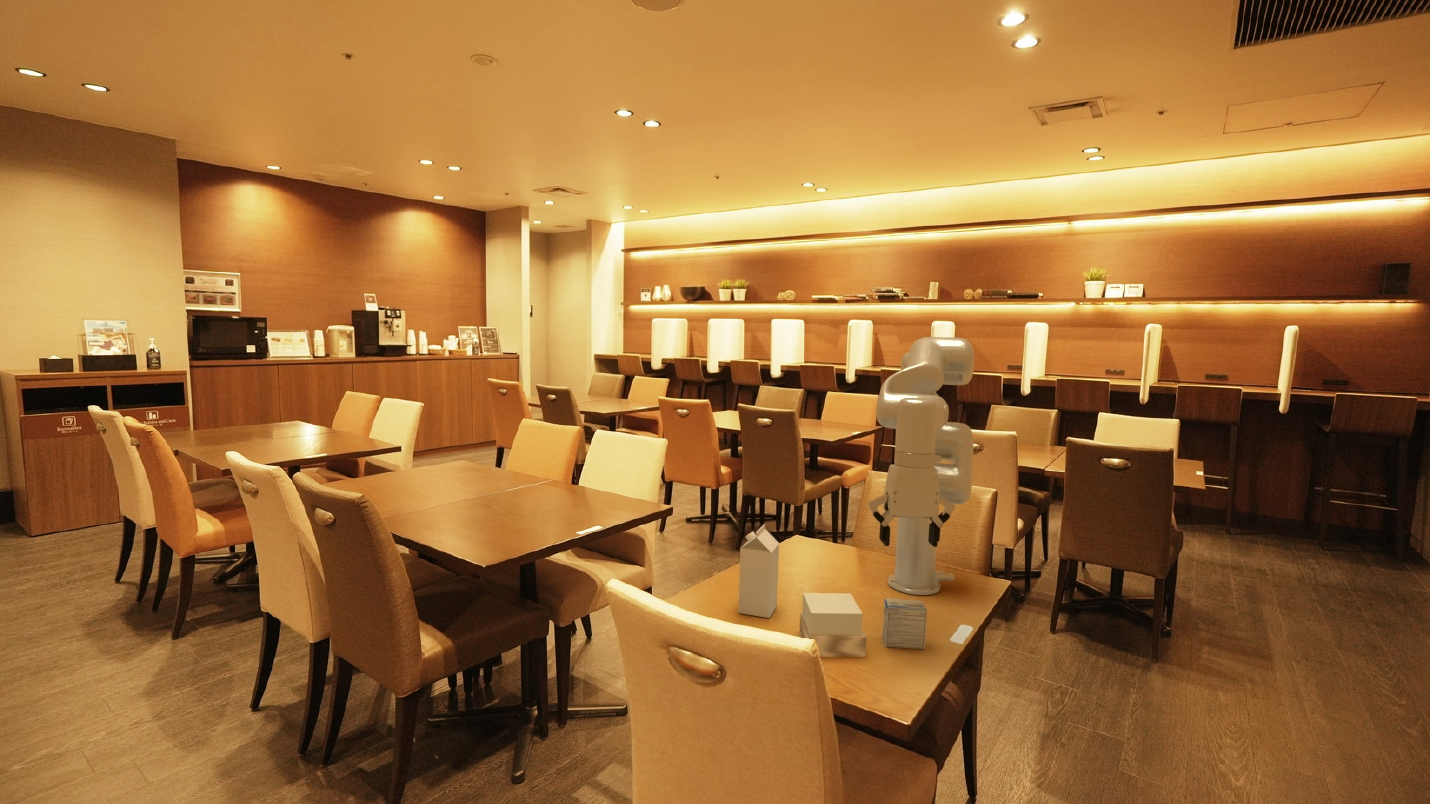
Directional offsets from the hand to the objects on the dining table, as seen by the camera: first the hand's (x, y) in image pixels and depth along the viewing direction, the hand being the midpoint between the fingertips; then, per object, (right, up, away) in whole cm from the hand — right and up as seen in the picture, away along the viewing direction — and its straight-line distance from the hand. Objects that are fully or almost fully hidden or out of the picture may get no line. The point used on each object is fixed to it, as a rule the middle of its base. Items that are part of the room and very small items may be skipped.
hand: (909, 544), depth 134 cm
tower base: (-15, -21, +2) cm, 26 cm away
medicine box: (0, -21, +3) cm, 21 cm away
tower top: (-15, -16, +1) cm, 23 cm away
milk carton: (-29, -19, +17) cm, 39 cm away
